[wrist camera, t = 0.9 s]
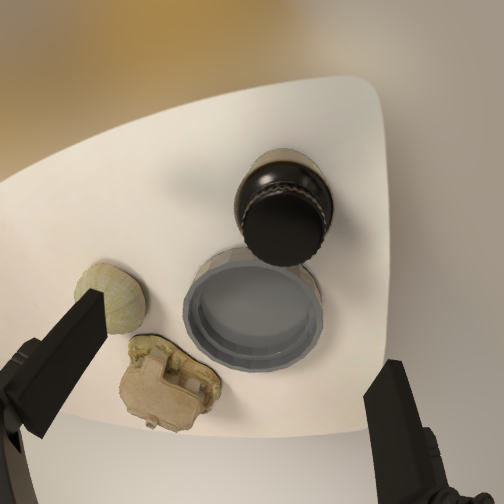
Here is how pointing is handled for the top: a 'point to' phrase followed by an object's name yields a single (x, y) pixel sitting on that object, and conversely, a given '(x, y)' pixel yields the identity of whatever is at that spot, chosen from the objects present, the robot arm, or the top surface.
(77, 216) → the top surface
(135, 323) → the sea urchin shell
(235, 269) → the dish
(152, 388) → the ceramic model
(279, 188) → the supplement bottle
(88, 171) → the top surface
